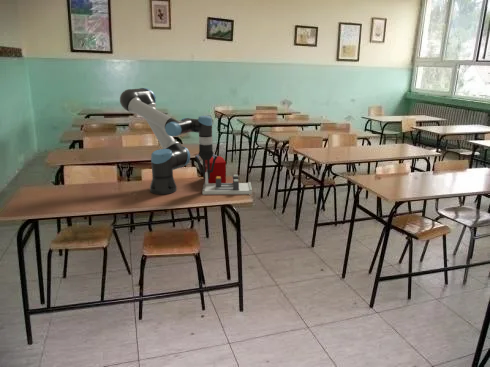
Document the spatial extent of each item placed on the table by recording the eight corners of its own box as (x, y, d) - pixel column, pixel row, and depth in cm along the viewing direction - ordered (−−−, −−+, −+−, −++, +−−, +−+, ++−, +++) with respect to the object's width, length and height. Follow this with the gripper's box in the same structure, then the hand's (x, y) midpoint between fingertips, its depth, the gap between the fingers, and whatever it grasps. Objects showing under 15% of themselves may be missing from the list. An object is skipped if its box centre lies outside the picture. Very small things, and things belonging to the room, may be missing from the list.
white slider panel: (202, 194, 227) (202, 181, 224) (203, 186, 241) (203, 174, 239) (251, 194, 228) (252, 181, 226) (250, 186, 242) (250, 173, 240)
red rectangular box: (203, 178, 257) (202, 155, 253) (219, 177, 260) (219, 154, 256) (208, 185, 242) (208, 161, 238) (225, 184, 245) (225, 160, 241)
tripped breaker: (215, 186, 232) (215, 177, 230) (216, 185, 235) (215, 176, 233) (221, 186, 232) (221, 177, 230) (221, 185, 235) (221, 176, 233)
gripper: (193, 145, 222) (195, 185, 229) (217, 145, 222) (217, 185, 229) (194, 142, 229) (196, 182, 236) (217, 142, 229) (218, 181, 236)
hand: (206, 183), depth 233 cm, fingers closed
